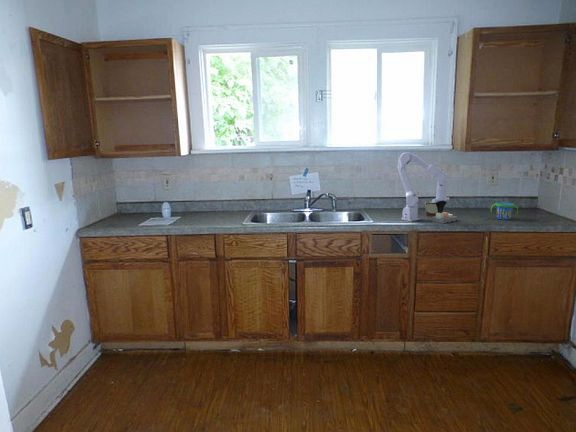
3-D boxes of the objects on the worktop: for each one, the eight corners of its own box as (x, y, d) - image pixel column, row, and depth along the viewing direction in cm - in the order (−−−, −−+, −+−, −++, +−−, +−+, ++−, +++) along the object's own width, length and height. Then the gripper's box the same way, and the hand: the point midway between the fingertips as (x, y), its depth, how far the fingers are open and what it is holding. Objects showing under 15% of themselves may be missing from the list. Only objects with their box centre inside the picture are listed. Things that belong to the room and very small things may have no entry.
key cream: (449, 220, 247) (449, 215, 247) (444, 219, 250) (444, 214, 250) (452, 219, 249) (452, 214, 249) (447, 218, 252) (448, 213, 251)
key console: (442, 223, 240) (443, 219, 239) (430, 221, 247) (430, 217, 247) (457, 220, 248) (457, 216, 247) (445, 218, 255) (445, 214, 254)
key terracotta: (444, 218, 245) (445, 213, 244) (440, 217, 248) (440, 212, 247) (448, 218, 246) (448, 212, 246) (443, 217, 249) (443, 212, 249)
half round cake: (440, 214, 266) (441, 200, 264) (442, 216, 260) (443, 202, 258) (421, 214, 268) (422, 200, 266) (423, 216, 262) (424, 202, 260)
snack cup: (517, 218, 251) (518, 203, 249) (517, 221, 242) (519, 205, 240) (490, 216, 258) (491, 201, 256) (489, 219, 249) (490, 203, 247)
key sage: (440, 219, 242) (440, 214, 242) (435, 218, 245) (435, 213, 244) (443, 219, 244) (444, 213, 243) (439, 218, 247) (439, 212, 246)
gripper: (439, 193, 234) (438, 215, 237) (454, 191, 242) (452, 212, 244) (429, 192, 240) (428, 213, 243) (444, 190, 247) (443, 210, 250)
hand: (440, 212), depth 244 cm, fingers closed
